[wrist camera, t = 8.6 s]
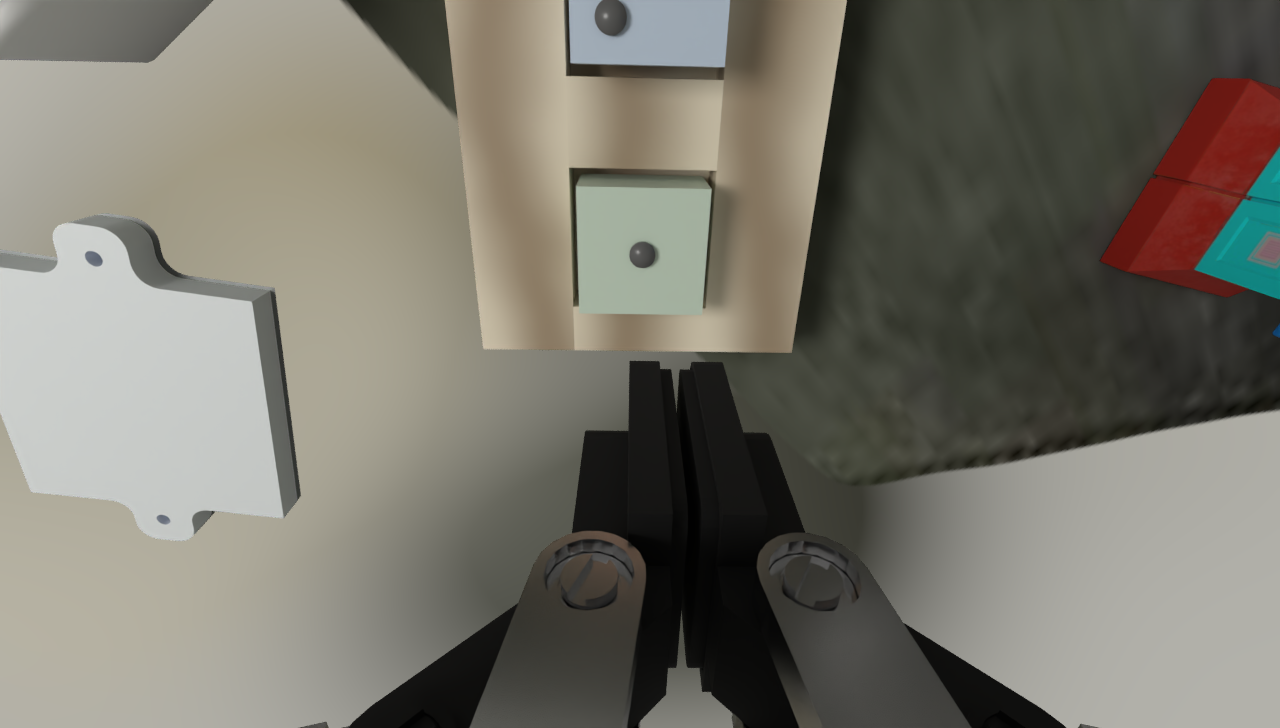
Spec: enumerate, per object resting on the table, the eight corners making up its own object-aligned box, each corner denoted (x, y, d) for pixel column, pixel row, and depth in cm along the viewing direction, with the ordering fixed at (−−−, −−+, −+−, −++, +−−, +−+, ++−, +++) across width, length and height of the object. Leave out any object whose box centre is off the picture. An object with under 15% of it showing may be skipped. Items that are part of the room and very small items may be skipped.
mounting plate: (-36, 192, 26) (-83, 200, 24) (268, 236, 27) (244, 248, 25) (74, 504, 34) (44, 527, 32) (305, 528, 35) (288, 551, 33)
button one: (702, 176, 24) (712, 189, 21) (694, 290, 26) (702, 316, 23) (581, 173, 24) (575, 187, 21) (584, 288, 26) (578, 315, 23)
